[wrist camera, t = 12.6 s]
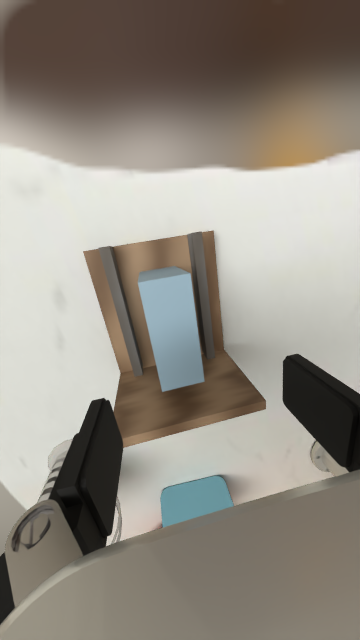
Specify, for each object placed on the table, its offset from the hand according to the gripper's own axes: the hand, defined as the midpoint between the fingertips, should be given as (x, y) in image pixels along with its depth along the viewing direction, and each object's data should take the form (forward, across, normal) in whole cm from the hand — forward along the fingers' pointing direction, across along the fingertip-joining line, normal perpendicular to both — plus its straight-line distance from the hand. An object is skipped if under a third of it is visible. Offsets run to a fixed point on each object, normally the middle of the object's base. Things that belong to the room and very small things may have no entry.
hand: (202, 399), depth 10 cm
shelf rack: (+16, +1, -1) cm, 16 cm away
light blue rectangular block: (+15, +1, -1) cm, 15 cm away
